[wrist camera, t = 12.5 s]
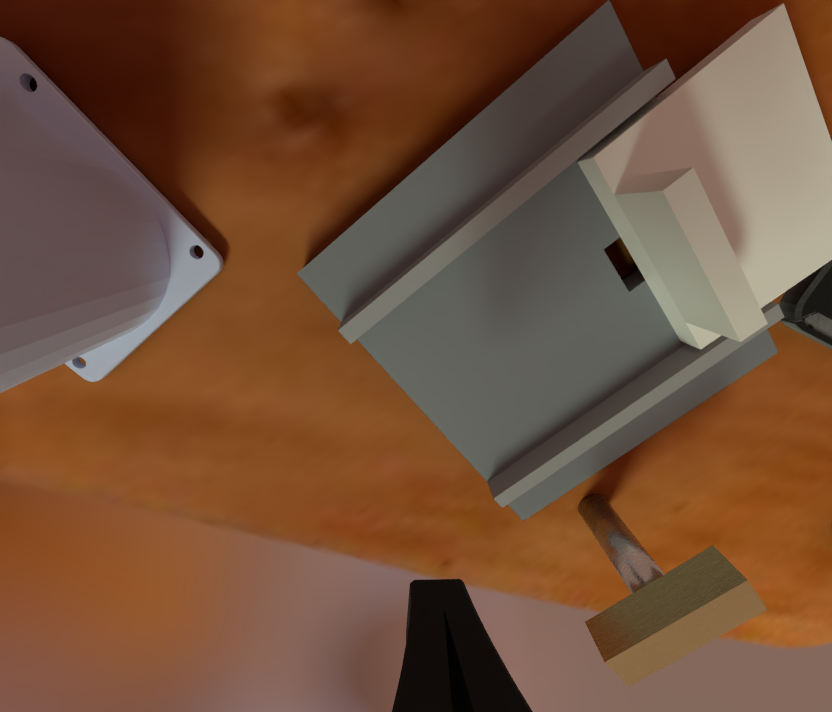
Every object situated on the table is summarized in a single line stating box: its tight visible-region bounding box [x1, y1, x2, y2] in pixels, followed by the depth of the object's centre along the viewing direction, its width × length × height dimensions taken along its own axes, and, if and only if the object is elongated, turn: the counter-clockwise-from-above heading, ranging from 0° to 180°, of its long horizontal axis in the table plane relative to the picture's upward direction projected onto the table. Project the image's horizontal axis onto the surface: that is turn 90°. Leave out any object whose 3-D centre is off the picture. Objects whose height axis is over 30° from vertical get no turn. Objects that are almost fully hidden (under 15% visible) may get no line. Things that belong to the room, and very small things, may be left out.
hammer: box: [579, 495, 767, 687], centre depth 18 cm, size 2×6×7 cm, turn 129°
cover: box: [578, 3, 832, 349], centre depth 14 cm, size 9×7×4 cm
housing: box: [297, 0, 784, 521], centre depth 17 cm, size 16×14×2 cm
